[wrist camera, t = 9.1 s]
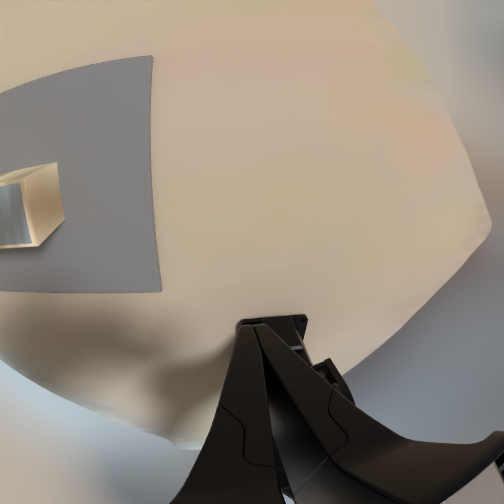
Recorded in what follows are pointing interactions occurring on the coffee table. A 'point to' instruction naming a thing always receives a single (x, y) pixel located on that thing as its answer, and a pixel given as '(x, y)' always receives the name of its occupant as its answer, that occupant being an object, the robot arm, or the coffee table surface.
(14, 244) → the birch block
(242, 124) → the coffee table surface
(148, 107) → the mat
